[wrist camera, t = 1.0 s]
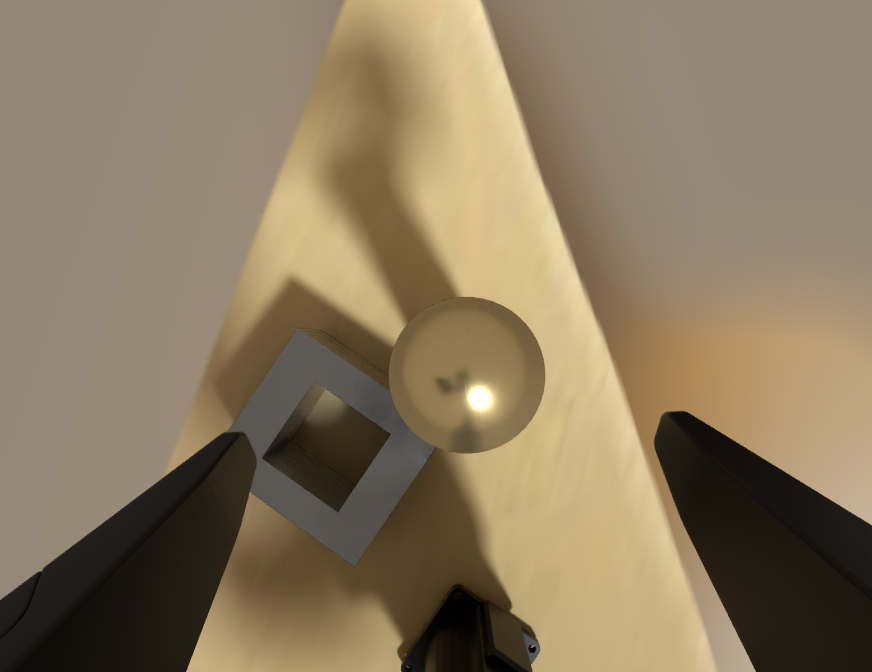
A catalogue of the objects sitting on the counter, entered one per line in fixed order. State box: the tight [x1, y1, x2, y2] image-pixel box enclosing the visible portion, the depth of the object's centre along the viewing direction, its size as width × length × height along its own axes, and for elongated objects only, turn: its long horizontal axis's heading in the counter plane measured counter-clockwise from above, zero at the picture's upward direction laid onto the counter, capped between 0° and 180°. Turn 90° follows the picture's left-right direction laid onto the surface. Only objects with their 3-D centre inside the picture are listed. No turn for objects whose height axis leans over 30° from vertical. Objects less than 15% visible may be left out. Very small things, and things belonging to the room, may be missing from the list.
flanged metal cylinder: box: [389, 297, 545, 453], centre depth 19 cm, size 5×5×13 cm
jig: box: [228, 328, 435, 567], centre depth 24 cm, size 9×10×4 cm
